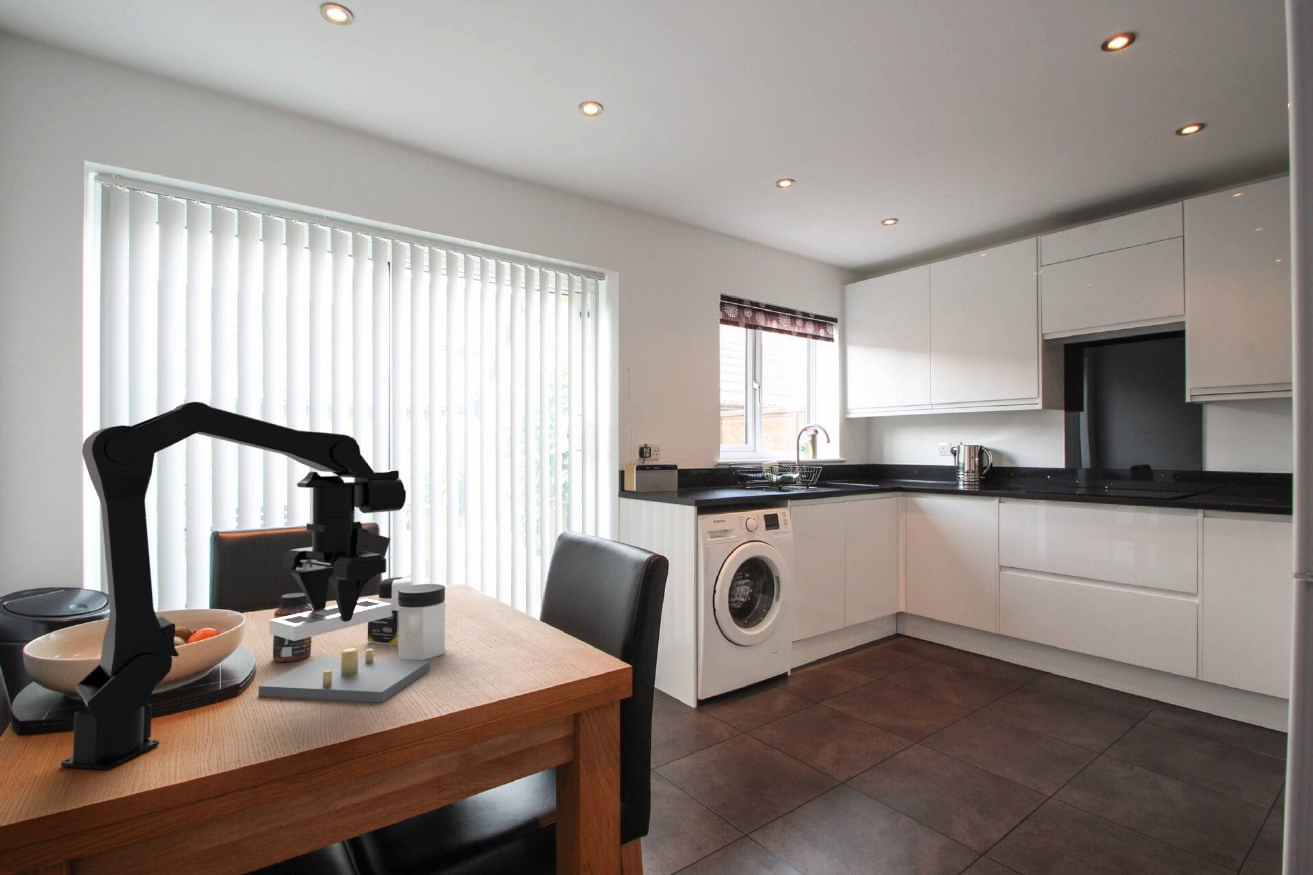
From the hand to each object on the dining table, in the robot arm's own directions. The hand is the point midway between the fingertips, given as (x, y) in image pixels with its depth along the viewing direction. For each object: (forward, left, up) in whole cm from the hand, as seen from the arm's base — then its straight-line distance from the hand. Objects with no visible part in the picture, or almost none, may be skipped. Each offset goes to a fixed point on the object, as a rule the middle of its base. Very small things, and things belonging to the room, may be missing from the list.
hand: (333, 617), depth 92 cm
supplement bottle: (+14, +18, -12) cm, 26 cm away
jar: (+19, -4, -12) cm, 23 cm away
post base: (+4, 0, -11) cm, 12 cm away
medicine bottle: (+27, +6, -12) cm, 31 cm away
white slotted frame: (0, 0, -1) cm, 1 cm away
